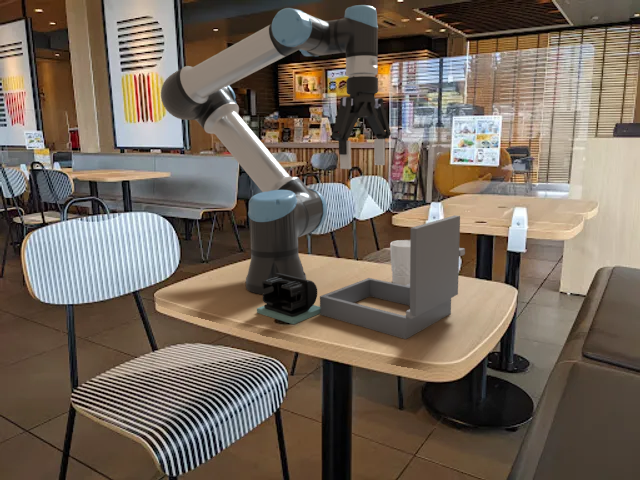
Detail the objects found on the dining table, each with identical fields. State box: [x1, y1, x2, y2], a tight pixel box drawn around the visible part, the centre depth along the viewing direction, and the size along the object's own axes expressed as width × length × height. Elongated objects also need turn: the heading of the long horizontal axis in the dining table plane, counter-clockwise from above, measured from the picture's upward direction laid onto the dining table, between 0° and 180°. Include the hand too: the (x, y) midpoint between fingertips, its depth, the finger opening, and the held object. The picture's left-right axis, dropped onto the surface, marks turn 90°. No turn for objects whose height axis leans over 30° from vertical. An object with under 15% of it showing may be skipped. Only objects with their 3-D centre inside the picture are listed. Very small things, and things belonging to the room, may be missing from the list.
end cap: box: [262, 273, 318, 317], centre depth 107 cm, size 10×7×7 cm
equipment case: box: [319, 215, 466, 340], centre depth 104 cm, size 23×19×21 cm
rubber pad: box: [256, 304, 320, 325], centre depth 108 cm, size 11×9×1 cm
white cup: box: [389, 239, 410, 285], centre depth 126 cm, size 8×8×10 cm
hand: (363, 167), depth 125 cm, fingers open, 13 cm apart
